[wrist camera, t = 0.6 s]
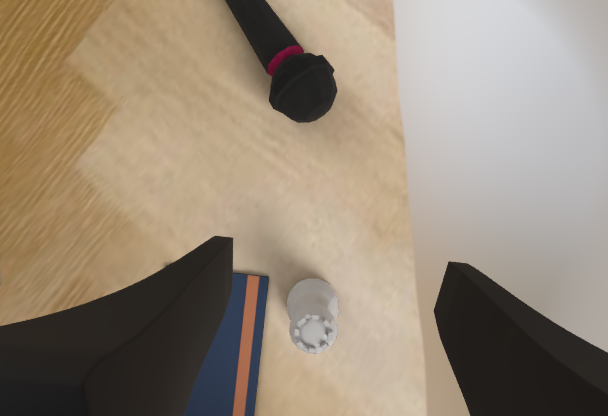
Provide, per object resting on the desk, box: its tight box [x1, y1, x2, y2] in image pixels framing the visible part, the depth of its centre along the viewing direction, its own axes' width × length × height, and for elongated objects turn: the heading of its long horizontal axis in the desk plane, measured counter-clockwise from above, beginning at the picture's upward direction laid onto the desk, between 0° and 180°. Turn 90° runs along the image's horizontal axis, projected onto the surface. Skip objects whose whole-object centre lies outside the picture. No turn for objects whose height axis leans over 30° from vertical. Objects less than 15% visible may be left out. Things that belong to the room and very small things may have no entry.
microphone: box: [226, 0, 337, 122], centre depth 30 cm, size 6×6×20 cm
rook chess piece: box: [287, 278, 338, 354], centre depth 27 cm, size 4×4×8 cm
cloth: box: [166, 265, 269, 416], centre depth 31 cm, size 15×9×1 cm, turn 174°
